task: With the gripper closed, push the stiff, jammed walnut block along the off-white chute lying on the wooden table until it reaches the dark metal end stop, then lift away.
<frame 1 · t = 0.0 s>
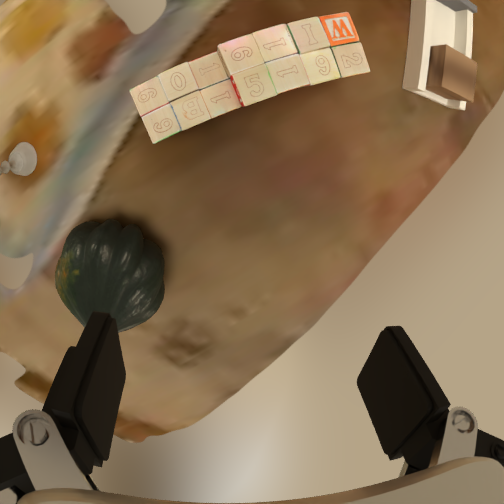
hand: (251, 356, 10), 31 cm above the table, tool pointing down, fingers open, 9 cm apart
stack of blocks: (240, 79, 33), on the table
chute: (433, 44, 31), on the table
squash: (122, 254, 42), on the table
chalice: (24, 158, 34), on the table
walnut block: (446, 73, 29), point 4 cm above the table, slide at 0.0 cm
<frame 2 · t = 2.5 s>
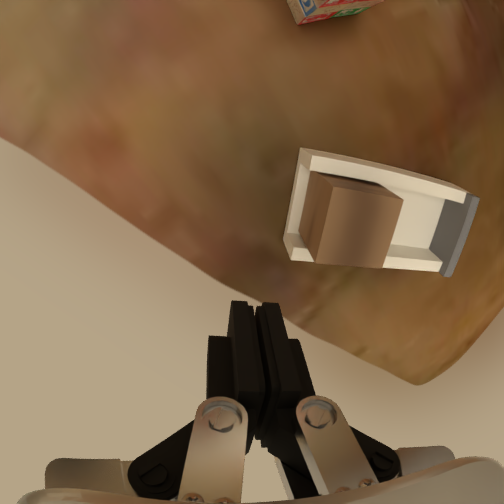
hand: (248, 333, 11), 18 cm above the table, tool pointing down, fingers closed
chute: (376, 208, 29), on the table
walnut block: (347, 216, 25), point 4 cm above the table, slide at 0.0 cm
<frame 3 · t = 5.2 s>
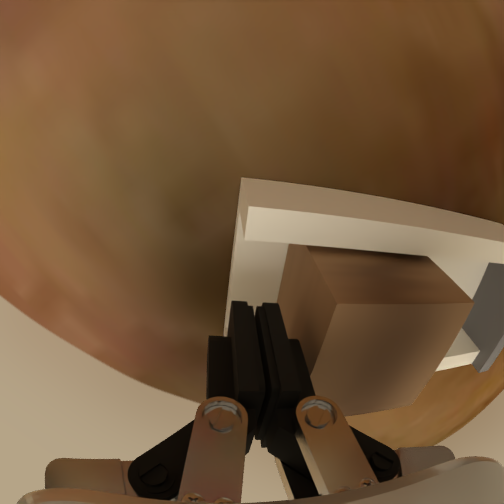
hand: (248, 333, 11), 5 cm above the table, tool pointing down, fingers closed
chute: (387, 275, 17), on the table
walnut block: (359, 319, 13), point 4 cm above the table, slide at 1.4 cm, touching gripper
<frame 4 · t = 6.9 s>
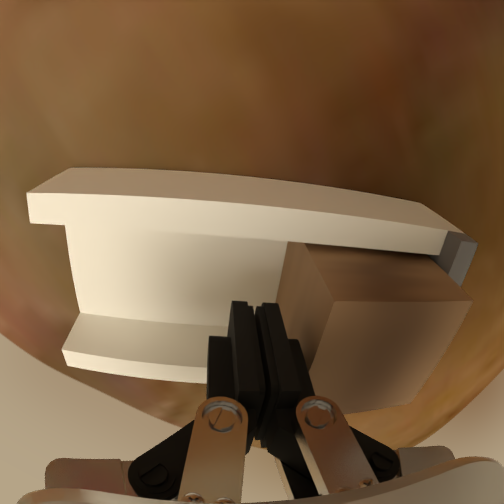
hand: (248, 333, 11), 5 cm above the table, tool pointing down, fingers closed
chute: (245, 264, 16), on the table
walnut block: (357, 317, 13), point 4 cm above the table, slide at 9.6 cm, touching gripper
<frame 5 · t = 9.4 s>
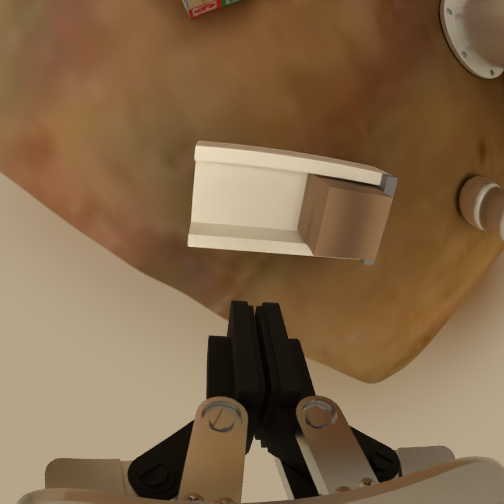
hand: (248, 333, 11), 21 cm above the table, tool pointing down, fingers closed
chute: (285, 195, 31), on the table
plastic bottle: (468, 195, 33), on the table
walnut block: (341, 214, 28), point 4 cm above the table, slide at 9.5 cm
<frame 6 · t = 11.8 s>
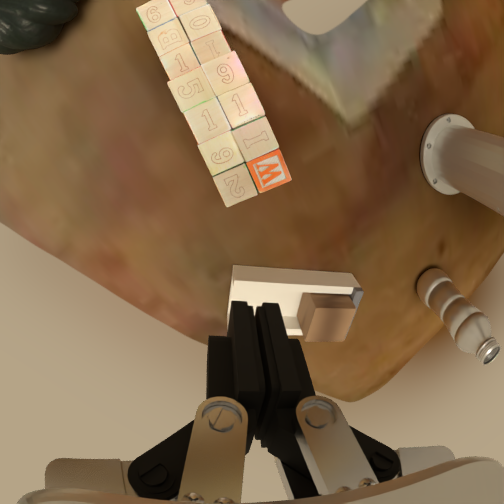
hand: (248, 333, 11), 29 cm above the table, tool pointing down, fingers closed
stack of blocks: (213, 88, 33), on the table
chute: (289, 295, 46), on the table
squash: (51, 8, 24), on the table
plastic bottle: (426, 279, 48), on the table
walnut block: (324, 312, 44), point 4 cm above the table, slide at 9.5 cm
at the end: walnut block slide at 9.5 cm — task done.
